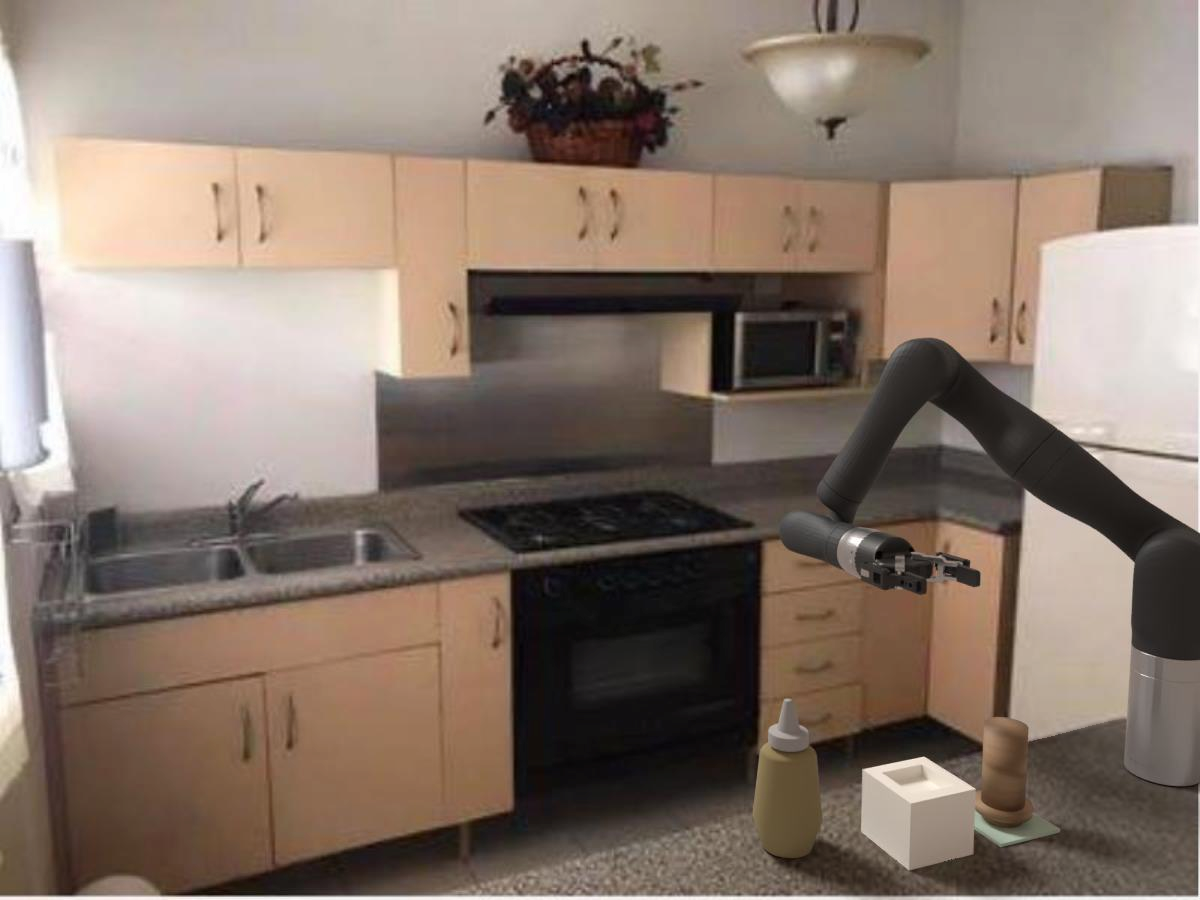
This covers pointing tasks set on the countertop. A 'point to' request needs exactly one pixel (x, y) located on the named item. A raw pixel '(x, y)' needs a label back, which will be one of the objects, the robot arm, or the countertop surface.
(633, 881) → the countertop surface
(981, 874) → the countertop surface
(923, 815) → the white socket block
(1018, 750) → the flanged wooden peg
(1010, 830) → the mat
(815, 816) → the squeeze bottle
